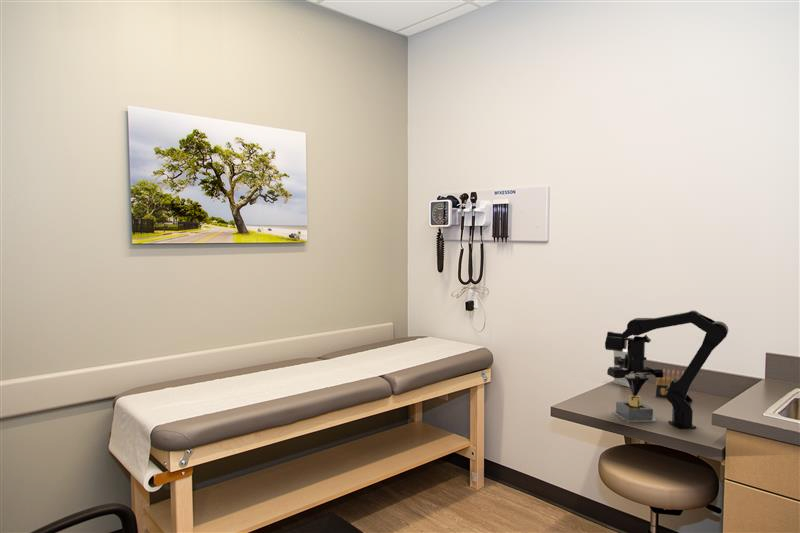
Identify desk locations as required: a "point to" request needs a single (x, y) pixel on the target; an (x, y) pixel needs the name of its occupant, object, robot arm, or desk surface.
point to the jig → (634, 413)
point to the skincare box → (621, 380)
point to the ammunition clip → (665, 383)
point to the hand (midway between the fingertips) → (634, 395)
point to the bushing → (634, 401)
